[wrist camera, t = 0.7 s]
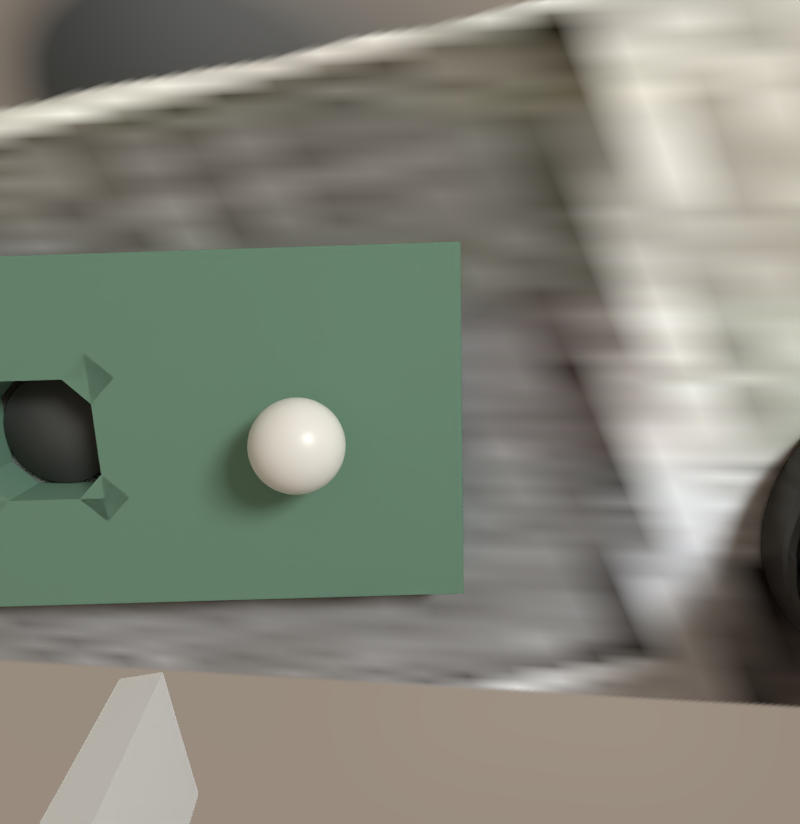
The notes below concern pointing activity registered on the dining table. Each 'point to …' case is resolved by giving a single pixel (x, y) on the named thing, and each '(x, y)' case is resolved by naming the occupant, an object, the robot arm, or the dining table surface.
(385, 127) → the dining table surface
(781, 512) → the robot arm
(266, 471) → the golf ball
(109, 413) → the putting mat
